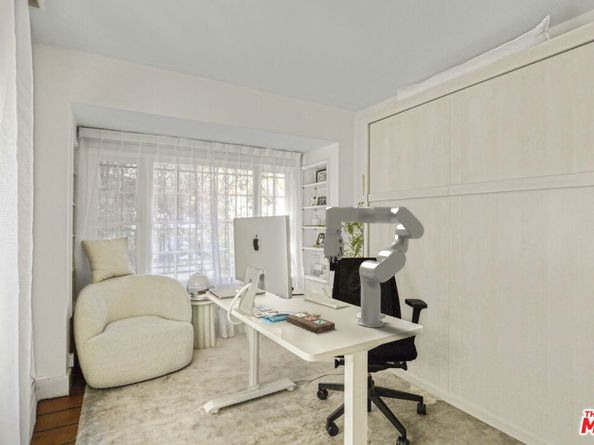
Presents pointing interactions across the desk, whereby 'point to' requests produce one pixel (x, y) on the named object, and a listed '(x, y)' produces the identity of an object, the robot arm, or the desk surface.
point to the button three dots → (319, 322)
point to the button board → (310, 323)
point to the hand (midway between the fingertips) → (333, 270)
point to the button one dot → (300, 315)
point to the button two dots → (309, 319)
